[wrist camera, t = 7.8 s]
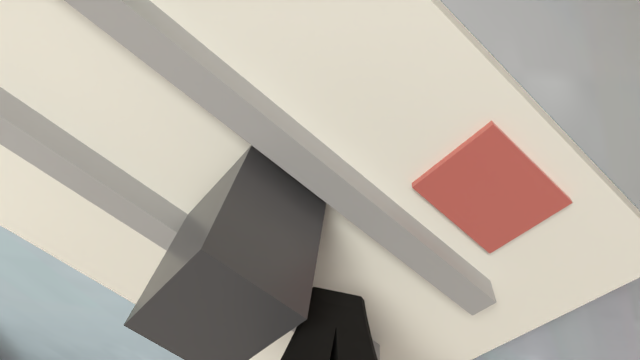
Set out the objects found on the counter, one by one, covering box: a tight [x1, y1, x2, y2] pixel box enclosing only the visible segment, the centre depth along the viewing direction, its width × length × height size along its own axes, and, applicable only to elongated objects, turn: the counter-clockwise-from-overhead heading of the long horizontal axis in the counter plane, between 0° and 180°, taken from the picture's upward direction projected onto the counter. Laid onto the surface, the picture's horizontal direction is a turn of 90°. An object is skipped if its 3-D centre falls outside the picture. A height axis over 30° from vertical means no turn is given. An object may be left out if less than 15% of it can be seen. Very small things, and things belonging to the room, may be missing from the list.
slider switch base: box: [0, 0, 640, 360], centre depth 12 cm, size 20×13×3 cm, turn 49°
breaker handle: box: [124, 145, 326, 360], centre depth 10 cm, size 2×3×4 cm
